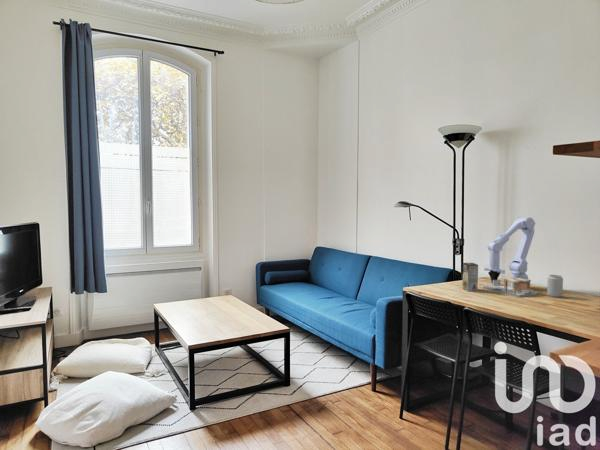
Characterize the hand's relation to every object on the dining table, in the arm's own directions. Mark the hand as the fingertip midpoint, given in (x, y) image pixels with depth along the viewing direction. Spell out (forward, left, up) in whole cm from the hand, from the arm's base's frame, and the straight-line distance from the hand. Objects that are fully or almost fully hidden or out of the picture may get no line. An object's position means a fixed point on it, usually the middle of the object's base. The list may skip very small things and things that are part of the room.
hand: (494, 283), depth 264 cm
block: (0, +20, -1) cm, 20 cm away
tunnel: (0, +17, -2) cm, 17 cm away
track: (0, +12, -3) cm, 12 cm away
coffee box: (+18, -1, -3) cm, 18 cm away
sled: (0, +12, -2) cm, 12 cm away
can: (-14, +30, -3) cm, 33 cm away
